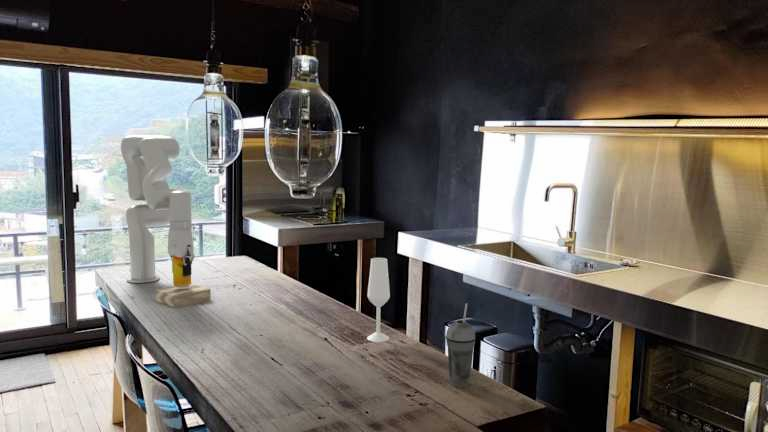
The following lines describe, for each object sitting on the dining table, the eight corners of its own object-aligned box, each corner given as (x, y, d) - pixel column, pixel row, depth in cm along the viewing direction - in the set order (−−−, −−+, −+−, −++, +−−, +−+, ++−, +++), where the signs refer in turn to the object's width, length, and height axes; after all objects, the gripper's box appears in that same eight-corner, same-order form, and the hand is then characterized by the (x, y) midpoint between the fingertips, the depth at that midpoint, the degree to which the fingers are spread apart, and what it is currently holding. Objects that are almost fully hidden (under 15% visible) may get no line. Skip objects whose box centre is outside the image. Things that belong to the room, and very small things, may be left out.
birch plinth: (155, 300, 209) (154, 289, 208) (189, 293, 220) (189, 283, 219) (175, 307, 200) (175, 296, 200) (210, 299, 211) (210, 289, 210)
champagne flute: (368, 342, 168) (369, 261, 165) (365, 335, 174) (366, 257, 171) (391, 341, 169) (392, 261, 166) (386, 333, 175) (388, 256, 172)
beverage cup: (441, 377, 143) (443, 299, 140) (470, 377, 143) (473, 299, 141) (447, 390, 136) (449, 307, 133) (477, 389, 136) (480, 307, 134)
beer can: (185, 288, 206) (184, 247, 204) (170, 287, 207) (168, 246, 205) (194, 284, 212) (193, 244, 210) (179, 283, 213) (178, 243, 211)
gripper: (158, 223, 209) (159, 272, 211) (184, 228, 198) (185, 279, 200) (177, 221, 215) (178, 268, 217) (203, 226, 204) (204, 276, 206)
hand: (181, 273), depth 209 cm, fingers closed on beer can, 6 cm apart
